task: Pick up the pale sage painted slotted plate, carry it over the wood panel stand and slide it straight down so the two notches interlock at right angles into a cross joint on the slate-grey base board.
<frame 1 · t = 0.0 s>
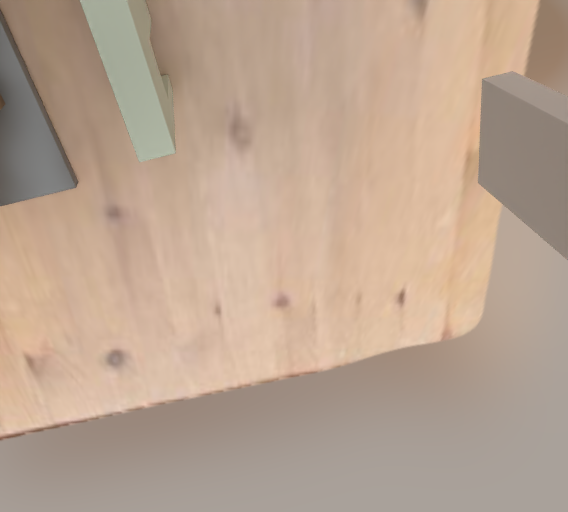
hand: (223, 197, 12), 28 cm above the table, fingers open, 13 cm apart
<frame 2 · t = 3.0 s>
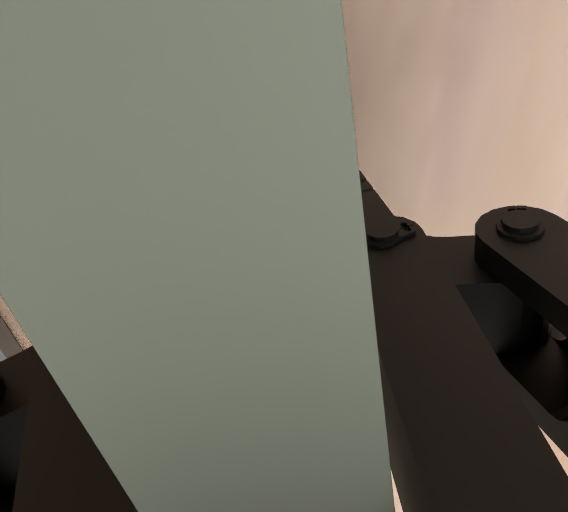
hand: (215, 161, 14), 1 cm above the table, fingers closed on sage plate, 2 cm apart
sage plate: (217, 163, 15), on the table, touching gripper
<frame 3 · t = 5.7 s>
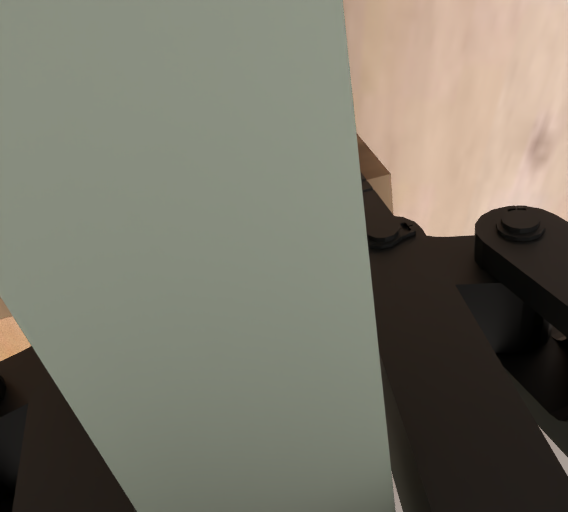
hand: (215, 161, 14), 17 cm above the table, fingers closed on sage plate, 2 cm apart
sage plate: (218, 165, 15), point 16 cm above the table, touching gripper
wood panel stand: (164, 132, 30), on the table
when the fingers open (4 cm above the table, at t = 8.7 s): sage plate drops 1 cm, resting on wood panel stand.
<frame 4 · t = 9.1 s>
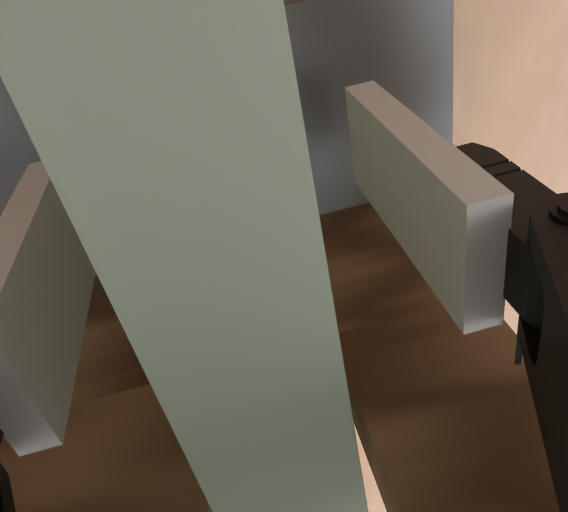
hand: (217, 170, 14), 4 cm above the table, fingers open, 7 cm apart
sage plate: (214, 146, 17), point 1 cm above the table, touching wood panel stand
wood panel stand: (164, 264, 20), on the table
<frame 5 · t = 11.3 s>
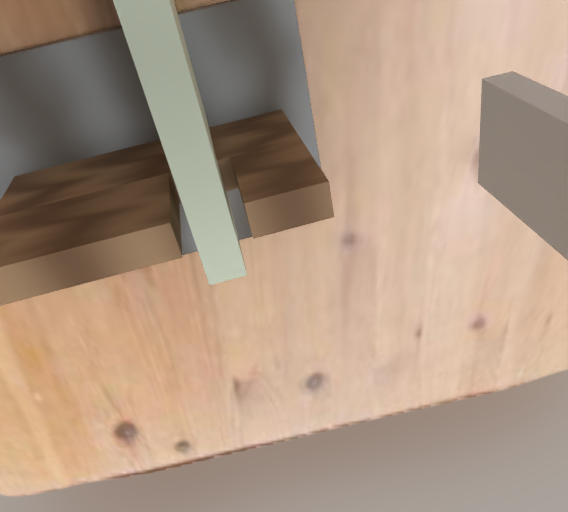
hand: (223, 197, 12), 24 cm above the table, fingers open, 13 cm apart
sage plate: (179, 78, 33), point 1 cm above the table, touching wood panel stand
wood panel stand: (155, 150, 36), on the table
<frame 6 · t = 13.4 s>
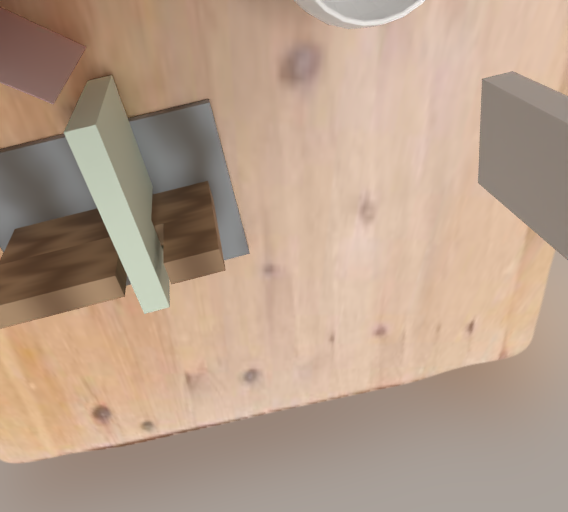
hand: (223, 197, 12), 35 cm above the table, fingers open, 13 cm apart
sage plate: (131, 162, 46), point 1 cm above the table, touching wood panel stand
wood panel stand: (117, 208, 49), on the table
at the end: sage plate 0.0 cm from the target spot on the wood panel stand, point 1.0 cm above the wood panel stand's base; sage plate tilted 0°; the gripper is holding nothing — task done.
